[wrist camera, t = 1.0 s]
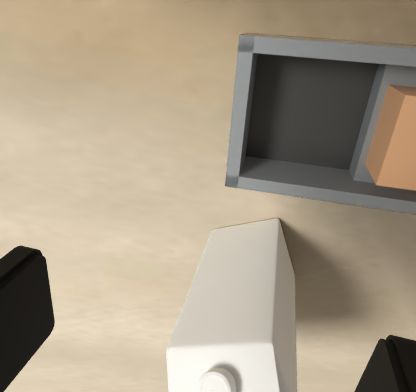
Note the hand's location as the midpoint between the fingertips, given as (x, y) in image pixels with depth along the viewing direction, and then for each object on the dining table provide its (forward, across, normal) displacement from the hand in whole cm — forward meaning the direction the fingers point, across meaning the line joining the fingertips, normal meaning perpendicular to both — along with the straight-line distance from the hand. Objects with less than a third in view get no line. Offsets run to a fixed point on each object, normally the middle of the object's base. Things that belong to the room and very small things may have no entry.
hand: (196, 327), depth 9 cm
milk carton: (+23, -1, +13) cm, 27 cm away
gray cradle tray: (+23, -11, -2) cm, 26 cm away
